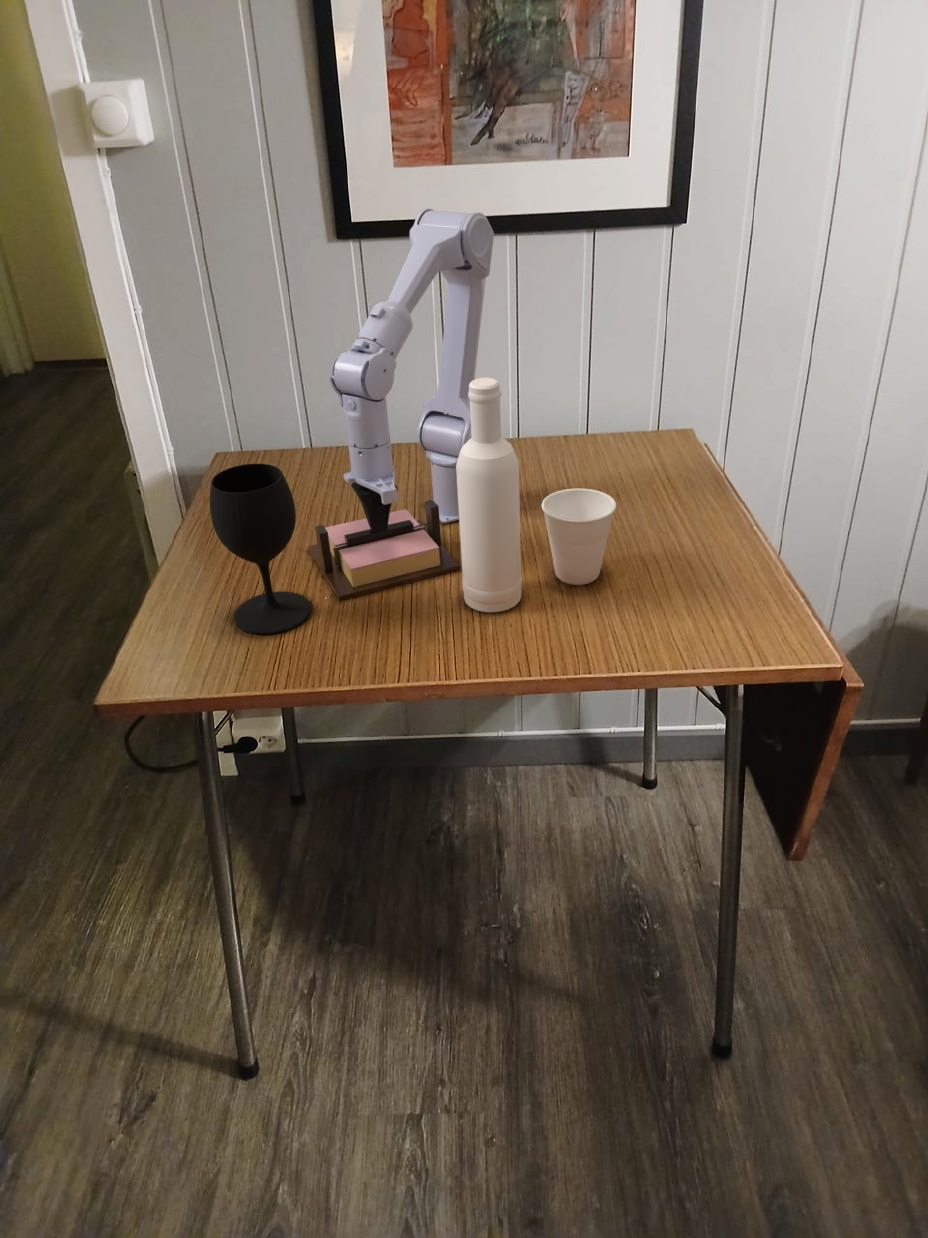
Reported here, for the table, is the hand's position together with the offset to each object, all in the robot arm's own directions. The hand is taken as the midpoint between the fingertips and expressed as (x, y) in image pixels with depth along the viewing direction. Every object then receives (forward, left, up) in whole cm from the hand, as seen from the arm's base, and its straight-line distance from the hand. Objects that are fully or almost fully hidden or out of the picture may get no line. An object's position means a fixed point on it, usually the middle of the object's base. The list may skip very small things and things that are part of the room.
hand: (378, 529), depth 133 cm
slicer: (0, 0, -5) cm, 5 cm away
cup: (-23, +17, -5) cm, 29 cm away
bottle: (-10, +17, -5) cm, 20 cm away
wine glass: (+18, +7, -5) cm, 20 cm away
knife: (0, 0, -4) cm, 4 cm away
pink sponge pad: (0, 0, -5) cm, 5 cm away
